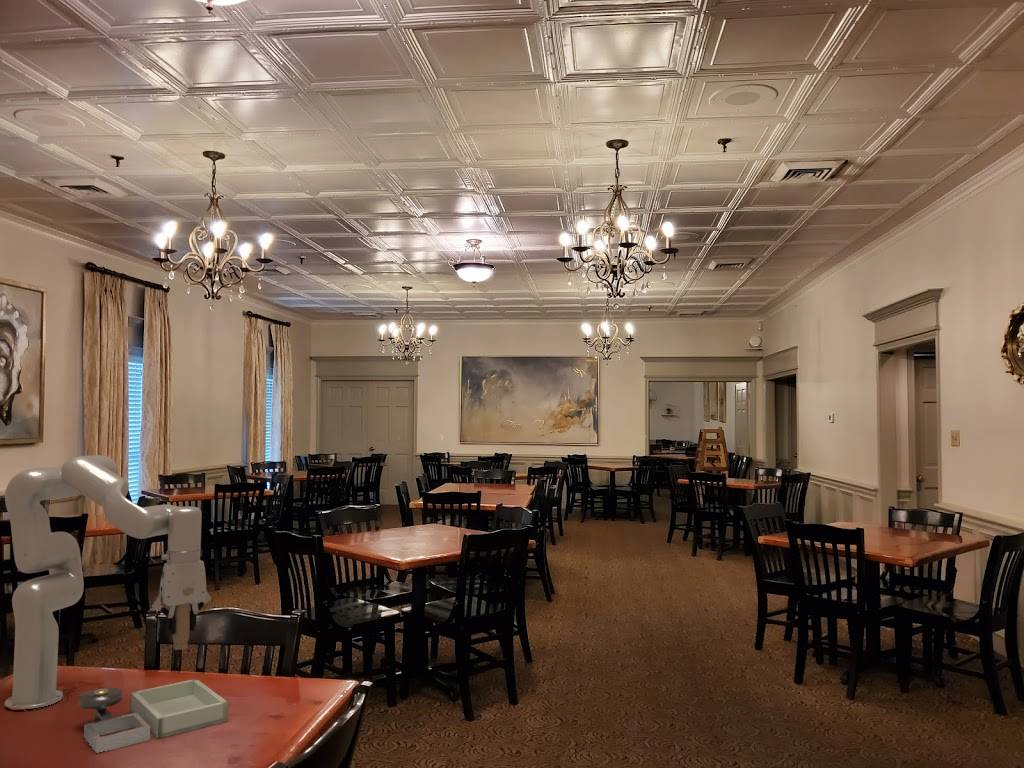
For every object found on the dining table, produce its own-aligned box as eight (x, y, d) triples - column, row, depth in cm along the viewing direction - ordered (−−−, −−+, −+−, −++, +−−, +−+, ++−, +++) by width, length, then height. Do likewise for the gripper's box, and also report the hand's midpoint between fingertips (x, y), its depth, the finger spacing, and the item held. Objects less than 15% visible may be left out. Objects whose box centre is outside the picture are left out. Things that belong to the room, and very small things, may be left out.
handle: (182, 652, 181) (185, 590, 181) (163, 649, 183) (165, 587, 184) (198, 647, 185) (200, 586, 186) (178, 644, 187) (180, 584, 188)
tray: (130, 710, 186) (130, 692, 186) (195, 696, 197) (196, 678, 197) (157, 739, 170) (158, 718, 170) (227, 721, 180) (228, 702, 181)
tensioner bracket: (73, 724, 177) (75, 689, 178) (124, 713, 185) (125, 679, 185) (95, 753, 162) (97, 715, 162) (149, 740, 169) (151, 703, 169)
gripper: (152, 562, 177) (149, 641, 176) (223, 555, 188) (220, 628, 187) (143, 558, 183) (140, 634, 182) (212, 551, 194) (209, 622, 193)
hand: (181, 630), depth 184 cm, fingers closed on handle, 4 cm apart
